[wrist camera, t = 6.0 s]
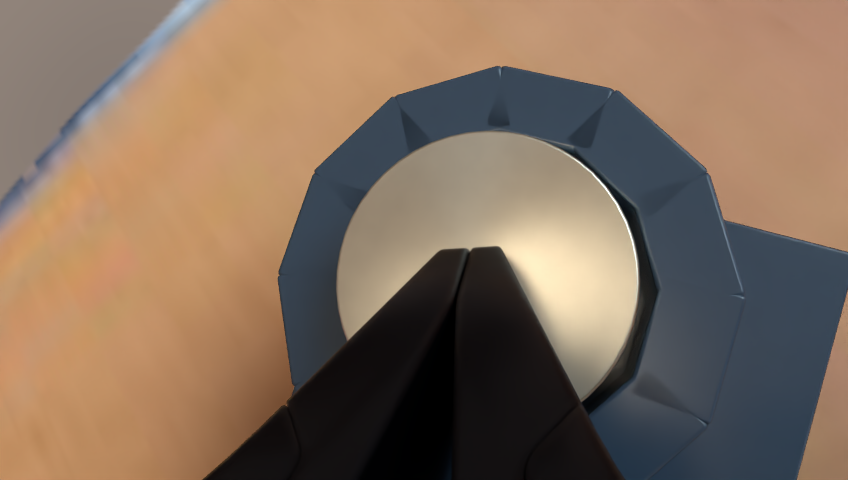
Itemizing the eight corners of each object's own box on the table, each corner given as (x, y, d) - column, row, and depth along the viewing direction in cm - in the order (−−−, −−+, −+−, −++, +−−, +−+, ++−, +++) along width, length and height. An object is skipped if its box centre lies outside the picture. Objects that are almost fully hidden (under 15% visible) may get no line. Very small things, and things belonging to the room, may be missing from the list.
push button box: (660, 706, 14) (723, 989, 8) (307, 537, 17) (143, 647, 10) (791, 236, 15) (939, 154, 9) (438, 146, 18) (361, 33, 11)
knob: (584, 457, 10) (585, 487, 8) (350, 368, 12) (295, 371, 9) (660, 208, 11) (680, 171, 9) (425, 148, 12) (389, 101, 10)
